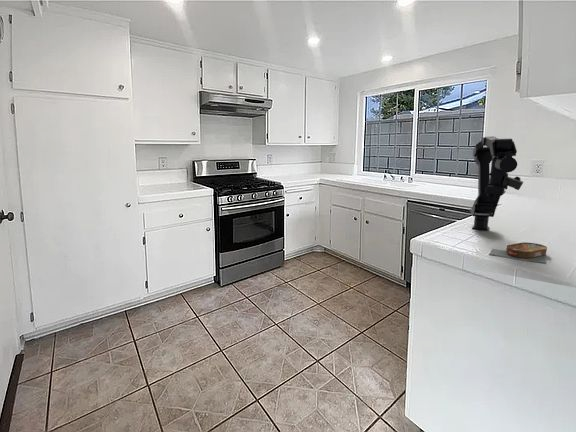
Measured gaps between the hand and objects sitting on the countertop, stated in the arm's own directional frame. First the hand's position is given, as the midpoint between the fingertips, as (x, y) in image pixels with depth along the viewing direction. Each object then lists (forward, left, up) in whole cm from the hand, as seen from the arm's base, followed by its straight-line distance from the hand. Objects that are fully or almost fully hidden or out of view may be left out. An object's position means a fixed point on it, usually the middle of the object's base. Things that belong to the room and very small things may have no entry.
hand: (494, 208), depth 134 cm
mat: (+20, +10, -13) cm, 26 cm away
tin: (+14, +9, -12) cm, 20 cm away
